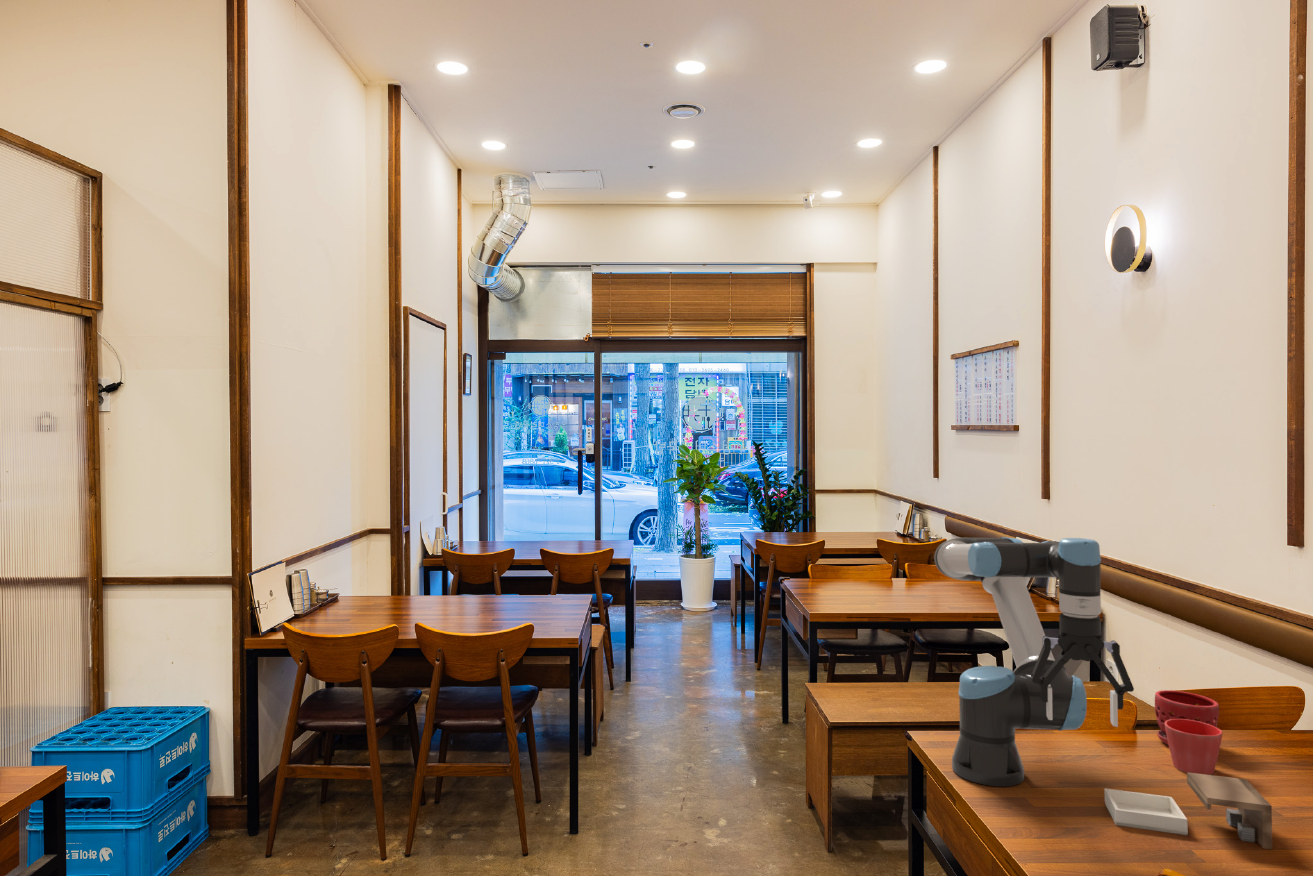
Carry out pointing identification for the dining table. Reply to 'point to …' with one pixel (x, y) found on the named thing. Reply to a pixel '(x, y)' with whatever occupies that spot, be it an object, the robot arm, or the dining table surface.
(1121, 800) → the tray
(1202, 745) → the flower pot
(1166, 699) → the plant pot
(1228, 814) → the small stepped grey block
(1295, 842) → the dining table surface
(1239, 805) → the shelf
